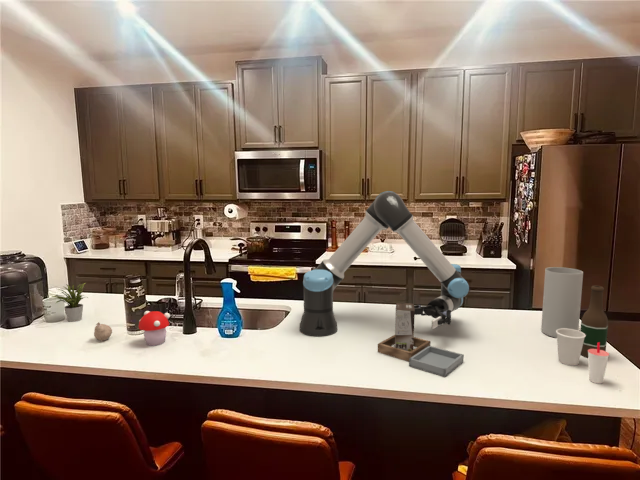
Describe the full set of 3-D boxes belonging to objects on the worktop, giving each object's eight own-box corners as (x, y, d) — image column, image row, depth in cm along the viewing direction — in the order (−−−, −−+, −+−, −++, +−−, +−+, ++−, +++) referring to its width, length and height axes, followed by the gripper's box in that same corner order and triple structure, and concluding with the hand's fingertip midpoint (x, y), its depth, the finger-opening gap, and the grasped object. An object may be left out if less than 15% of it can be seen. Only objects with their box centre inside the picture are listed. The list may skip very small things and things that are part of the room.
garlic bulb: (90, 341, 160) (88, 320, 159) (105, 335, 166) (104, 315, 165) (101, 344, 157) (99, 323, 156) (116, 338, 163) (115, 318, 162)
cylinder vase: (581, 341, 157) (587, 275, 154) (544, 337, 161) (548, 272, 158) (573, 330, 169) (578, 268, 165) (538, 326, 173) (542, 266, 169)
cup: (587, 383, 125) (590, 344, 123) (583, 375, 130) (586, 337, 128) (608, 386, 123) (612, 346, 121) (604, 378, 128) (607, 340, 126)
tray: (409, 366, 137) (409, 358, 137) (428, 352, 148) (429, 345, 147) (445, 377, 129) (445, 369, 129) (463, 361, 140) (463, 354, 140)
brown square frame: (377, 352, 148) (377, 343, 148) (398, 340, 159) (398, 332, 158) (411, 362, 140) (411, 353, 139) (430, 349, 150) (430, 341, 150)
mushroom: (176, 342, 158) (174, 311, 157) (147, 350, 151) (145, 318, 149) (162, 335, 166) (160, 305, 164) (134, 343, 158) (132, 311, 156)
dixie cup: (548, 356, 144) (551, 328, 142) (574, 356, 143) (576, 328, 142) (562, 367, 135) (564, 337, 134) (588, 367, 135) (591, 337, 134)
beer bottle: (580, 357, 142) (586, 288, 139) (576, 349, 150) (581, 282, 146) (608, 361, 140) (614, 290, 136) (602, 352, 147) (608, 284, 143)
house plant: (72, 313, 194) (69, 278, 192) (100, 314, 192) (98, 279, 190) (49, 323, 180) (45, 286, 178) (78, 325, 178) (75, 287, 176)
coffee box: (413, 356, 144) (414, 310, 142) (394, 355, 146) (395, 309, 143) (413, 346, 153) (414, 303, 151) (395, 345, 154) (396, 302, 152)
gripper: (470, 322, 161) (447, 338, 145) (411, 310, 177) (384, 323, 161) (471, 303, 160) (448, 317, 144) (411, 292, 176) (384, 304, 160)
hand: (414, 320), depth 152 cm, fingers open, 13 cm apart
